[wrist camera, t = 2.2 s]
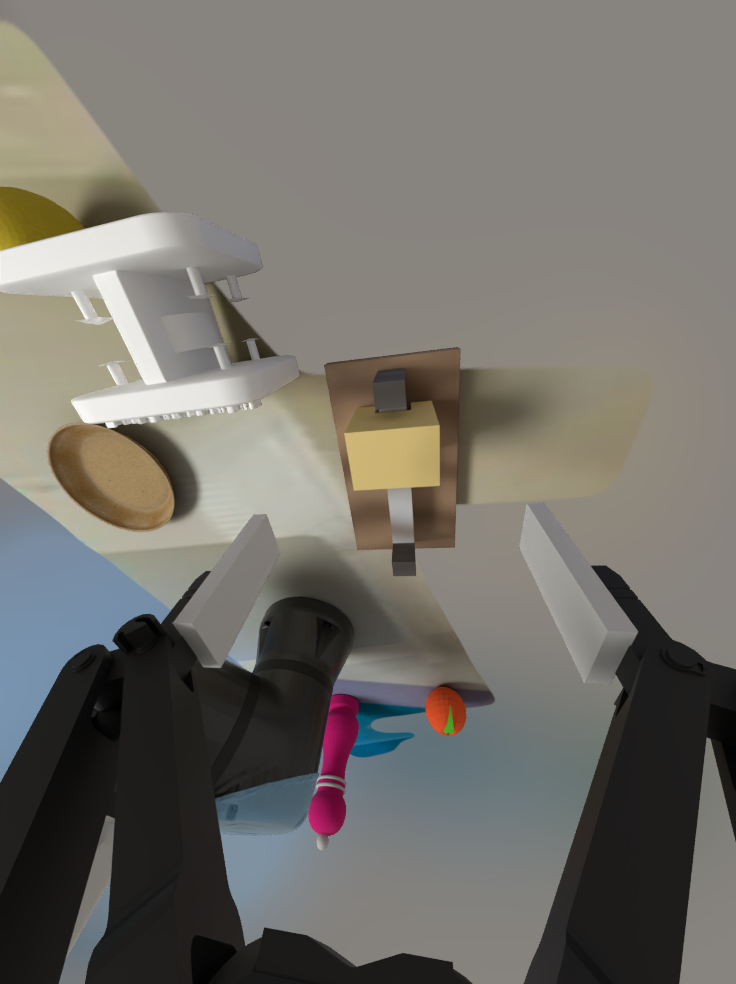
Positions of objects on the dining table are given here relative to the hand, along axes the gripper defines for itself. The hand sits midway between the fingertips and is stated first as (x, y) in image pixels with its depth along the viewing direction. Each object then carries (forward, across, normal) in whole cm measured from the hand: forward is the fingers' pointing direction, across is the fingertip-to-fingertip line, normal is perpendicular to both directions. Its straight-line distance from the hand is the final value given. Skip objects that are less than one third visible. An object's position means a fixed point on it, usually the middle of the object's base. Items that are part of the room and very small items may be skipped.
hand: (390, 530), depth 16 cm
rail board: (+18, 0, +5) cm, 19 cm away
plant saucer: (+18, +34, +4) cm, 39 cm away
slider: (+16, 0, 0) cm, 16 cm away
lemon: (+18, +25, -17) cm, 36 cm away
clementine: (+18, -5, +51) cm, 54 cm away
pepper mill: (+18, +15, +58) cm, 62 cm away
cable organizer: (+18, +16, -10) cm, 26 cm away
